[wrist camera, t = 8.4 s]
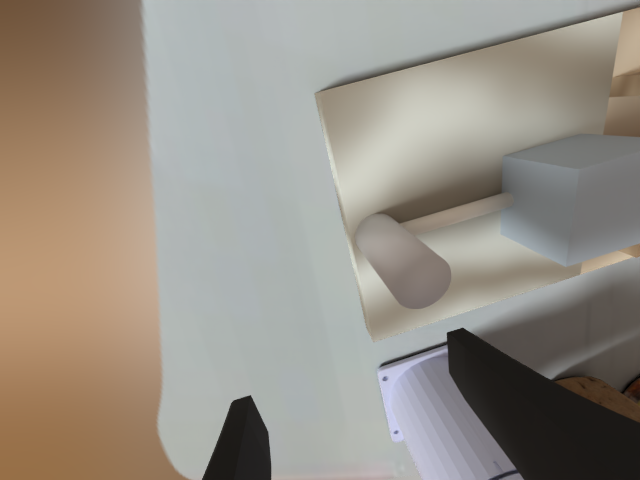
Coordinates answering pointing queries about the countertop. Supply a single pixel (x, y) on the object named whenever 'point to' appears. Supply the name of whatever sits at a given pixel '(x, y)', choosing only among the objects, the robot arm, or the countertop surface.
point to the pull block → (523, 214)
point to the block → (602, 395)
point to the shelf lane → (474, 153)
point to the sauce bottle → (633, 392)
